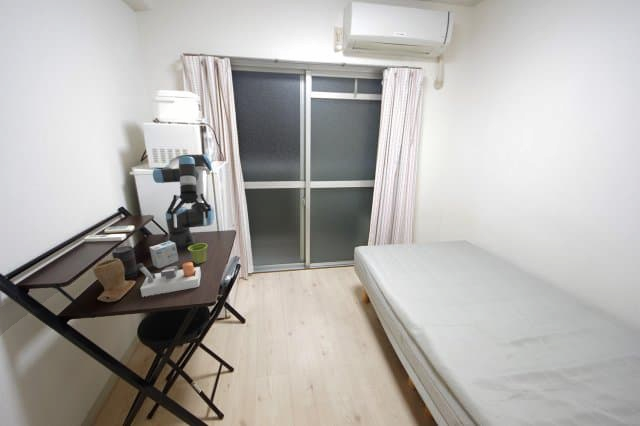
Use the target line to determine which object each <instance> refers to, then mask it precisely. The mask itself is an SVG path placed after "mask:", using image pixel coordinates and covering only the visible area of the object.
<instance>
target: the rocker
mask: <svg viewBox="0 0 640 426" xmlns="http://www.w3.org/2000/svg"><path fill="white" fill-rule="evenodd" d="M178 270H179V266H178V265H176V266H175V265H173V266H169V267H167V266H166V267H164V269H163V270H162V271H161V272H160V273H161V277H165V276H171V275H175V274H176V272H177V271H178Z"/></svg>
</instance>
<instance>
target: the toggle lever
mask: <svg viewBox="0 0 640 426" xmlns="http://www.w3.org/2000/svg"><path fill="white" fill-rule="evenodd" d="M137 268H138V270H140V271H141V272H142V273H143V275H145V277H148V278H154V276H153V275H152V274H153V273H151V272H150V271H149V270H148V269H147V267H145V266H144V263H142V262H141V263H140V262H139V263H138V264H137Z"/></svg>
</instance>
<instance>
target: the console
mask: <svg viewBox="0 0 640 426" xmlns="http://www.w3.org/2000/svg"><path fill="white" fill-rule="evenodd" d="M194 273H195V276H191V277H185V278H184V272H183V268H182V269H178V271H177V272H176V274H175V275H171V276H165V277H161V272H158V273H151V274H152V275H153V276H154V278H148V277H147V276H145V277H146V278H145V280H144V282H143V283H142V285H141V287H140V288H139V289H140V292H141V297H142V298H144V296H145V297H150V295H151V296H156V295H162V294H166V293H167V294H168V293H171V292H177V291H182V290H188V289H194V288H199V287H200V282H201V275H202V272H201V267H200V266H196V267H194ZM161 293H162V294H161ZM155 294H156V295H155Z"/></svg>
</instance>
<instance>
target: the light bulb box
mask: <svg viewBox="0 0 640 426" xmlns="http://www.w3.org/2000/svg"><path fill="white" fill-rule="evenodd" d="M177 249H178V248H177ZM177 249H176V244H175V243H174V242H171V241H168V240H166V241H165V242H161V243H159V244H156V245H153V246H149V252H150V256H151V260H152V264H153V266H154V267H155V268H157V269H158V270H159V269H161V268H165V267H167V266H169V265H172V264H174V263H177V262H179V255H178V250H177Z"/></svg>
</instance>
